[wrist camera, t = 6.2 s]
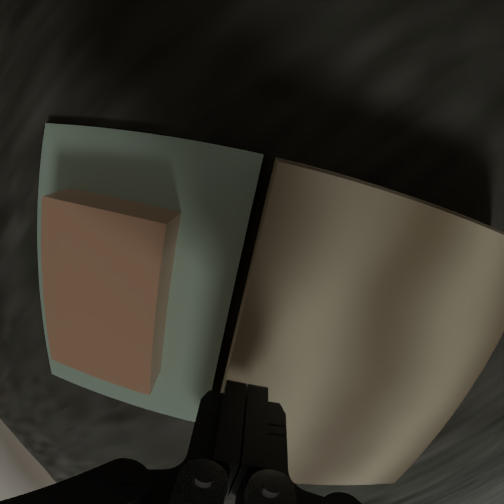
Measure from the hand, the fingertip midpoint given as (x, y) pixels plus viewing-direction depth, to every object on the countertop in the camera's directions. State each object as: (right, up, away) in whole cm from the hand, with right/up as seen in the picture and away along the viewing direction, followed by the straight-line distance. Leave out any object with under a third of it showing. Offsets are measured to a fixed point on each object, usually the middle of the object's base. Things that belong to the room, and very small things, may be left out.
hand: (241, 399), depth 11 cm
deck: (+5, +1, +5) cm, 8 cm away
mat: (-6, +3, +5) cm, 9 cm away
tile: (-7, +3, +2) cm, 8 cm away
